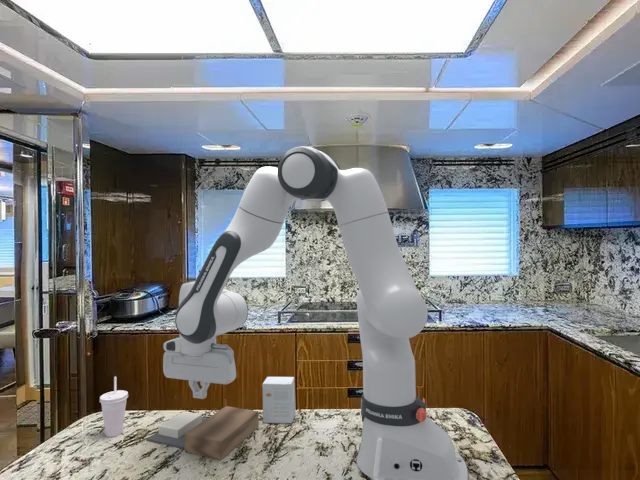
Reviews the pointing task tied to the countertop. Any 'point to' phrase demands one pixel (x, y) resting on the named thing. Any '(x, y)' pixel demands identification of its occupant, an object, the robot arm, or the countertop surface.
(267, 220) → the robot arm
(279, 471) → the countertop surface
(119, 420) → the smoothie
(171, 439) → the mat
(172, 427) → the tile
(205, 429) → the brown wooden block
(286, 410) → the small box
